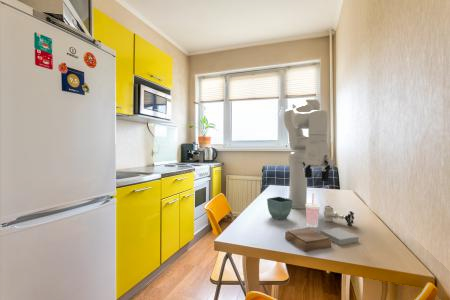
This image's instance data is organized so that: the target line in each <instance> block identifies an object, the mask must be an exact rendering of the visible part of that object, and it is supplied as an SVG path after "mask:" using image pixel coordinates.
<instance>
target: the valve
mask: <svg viewBox="0 0 450 300" xmlns="http://www.w3.org/2000/svg"><path fill="white" fill-rule="evenodd" d="M323 216H324V217H323V219H324V222H328V221H333V220H334V219H335V220H337V219H341V220H343V219H344V220H345V221H346V223H347V226H349V227H353V224H354V220H355V213H354V212H353V211H351V210H350V211H348V214H347V215H343V214H339V213H338V212H337V211H334V207H333V206H332V205H324V211H323ZM333 222H334V221H333Z"/></svg>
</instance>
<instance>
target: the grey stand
mask: <svg viewBox="0 0 450 300" xmlns="http://www.w3.org/2000/svg"><path fill="white" fill-rule="evenodd" d="M320 233H321V234H323V235H324V236H326V237H328V238H329V239H330V240H331V242H333V243H335V244H336V245H339V246H343V245H349V243H350V244H354V242H355V243H359V240H360V239H359V236H358V235H356V234H353V233H352V232H349V231H347V230H345V229H343V228H341V227H333V228H325V229H320Z"/></svg>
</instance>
